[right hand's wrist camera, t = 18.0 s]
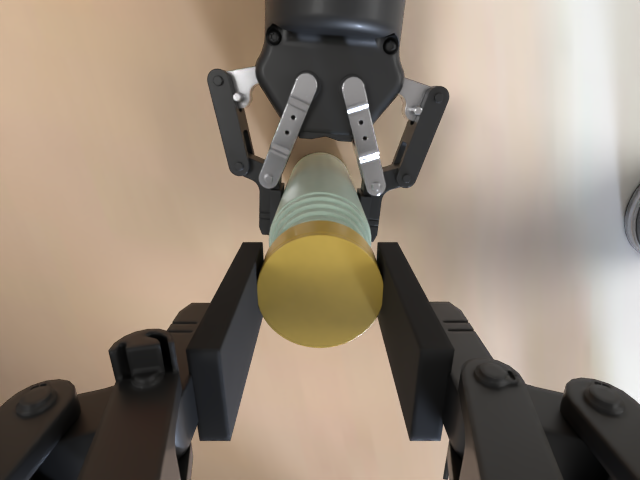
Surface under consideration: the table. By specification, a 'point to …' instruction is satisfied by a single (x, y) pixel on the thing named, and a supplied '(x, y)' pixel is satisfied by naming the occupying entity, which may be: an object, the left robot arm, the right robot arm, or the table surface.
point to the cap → (320, 285)
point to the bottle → (320, 197)
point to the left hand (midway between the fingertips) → (317, 241)
